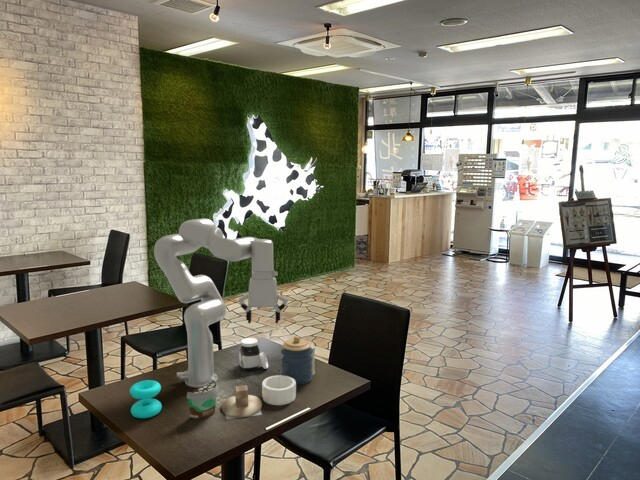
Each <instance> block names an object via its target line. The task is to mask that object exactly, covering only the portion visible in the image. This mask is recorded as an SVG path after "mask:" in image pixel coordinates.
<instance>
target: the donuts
mask: <svg viewBox="0 0 640 480" xmlns="http://www.w3.org/2000/svg"><path fill="white" fill-rule="evenodd" d="M161 390H162V386H161V383H159V382H158V381H157V380H152V379H145V380H141V381H138V382H136V383H134V384H133V385H131V387H130V389H129V394H130V396H131V397H132V398H134V399H136V400H138V401H136V402H134V403H133V405H132V406H131V408H130V413H131V415H132V416H133V417H134V418H136V419H149V418H153V417H154V416H156V415H158V414H159V413H160V412H161V411H162V408H163V405H162V403H161V401H159V399H156V398H154V397H156V396H157V395H158V394H159V393H160V392H161Z"/></svg>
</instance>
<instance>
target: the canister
mask: <svg viewBox="0 0 640 480" xmlns="http://www.w3.org/2000/svg"><path fill="white" fill-rule="evenodd" d="M311 343H312V342H309V341H308V340H306V339H305V338H300V336H298V335H295V336H294V337H293V338H289V339H287V340H286V341H284V342H283V343H282V347H281V348H280V351H279V352H280V354H281V356H280V374H279V375H283V376H289V377H291V378H293V379H294V380H295V382H296V386H300V385H304V384H307V383H309V382H310V381H312V379H313V376H314V375H313V371H312V360H313V357H312V353H313V349H312V348H311Z"/></svg>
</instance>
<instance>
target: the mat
mask: <svg viewBox="0 0 640 480" xmlns="http://www.w3.org/2000/svg"><path fill="white" fill-rule="evenodd" d="M254 396H255V397H257V395H254ZM225 400H226V398H224V399H222V401H223V402H224V401H225ZM223 402H222V403H223ZM262 415H263V414H262V409H261V410H260V411H259V412H257V413H256V414H254V415H251V416H247V417H255V416H262ZM224 416H225V419H226V420H233V419H239V418H242V417H232V416H228V415H226V414H225V415H224ZM247 417H246V418H247Z"/></svg>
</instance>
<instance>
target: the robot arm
mask: <svg viewBox="0 0 640 480" xmlns="http://www.w3.org/2000/svg"><path fill="white" fill-rule="evenodd" d="M223 236H224V233H223V231H222V229H221V228H219V227H218V226H216V225H215V223H214V222H213V221H212V220H211V219H209V218H204V217H202V218H195V219H189V220H185V221H184V222H182V223H181V224H180V226H179V229H178V233H174V234H168V235H164V236H162V237H160V238H159V239H158V240H156V242H155V244H154V247H153V255H154V259H155V261H156V263H157V265H158V266H159V268H160V269H161V271H162V272H163V273H164V274H165V276H166V278H167V281H168V282H169V284H170V286H171V288H172V290H173V292H174V293H175V296H176V297H177V300H179V302H181V303H182V304H189V303H192V302H196V301H199V300H200V301H199V302H196V303H193V304H191V305H189V306H188V307H187V308H186V309H185V311H184V314H183V319H184V324H185V328H186V329H185V330H186V332H187V333H186V335H187V358H188V359H187V360H188V361H187V362H188V363H187V364H188V366H187V367H188V368H187V370H185V371H181V372H176V378H178V379H179V380H184V384H185V385H186V386H187V387H190V388H195V389H198V388H200V387H201V386H204V385H207V384H209V383H211V382H212V380H214V381H216V383H218V382H217V381H218V380H219V377H218V374H216V373H215V372H214V371H215V370H214V367H215V365H214V338H213V337H214V336H213V333H212V331H211V330H210V328H209V326H210V325H212V324H215V323H217V322H220V321H221V320H223V319H224V318H225V317H226V314H227V306H226V304H225V302H224V301H225V300H223V298H222V296H221V294H220V292H219V290H218V289H217V287H216V284H215V283H214V281H213V280H212V278H211V277H210V276H207V275H205V274H198V275H194V276H193V275H192V273H191V272H190V270H189V268H188V266H187V265H186V264H185V263H184V262H183V261H182V260H180V259H178V258H177V256H183V255H187V254H193V253H195V252H197V250H199V249H201V248H202V247H203V248H206V249H207V250H209V252H210V253H211V254H212V256H213V257H216V258H219V259H221V260H224V261H228V262H238V261H241V260H246V259H250V258H251V277H250V279H249V283H248V293H247V294H245V295H244V296H242V297H240V298H239V299H237V301H238V303H239V305H240V307H241V308H242V309H243V311H245V312H246V313H245V314H246V315H245V316H246V321H247V322H248V323H247V324H251V322H252V310H251V309H252V308H273V309H274V310H275V324H278V323H279V321H281V311H282V310H283V309H285V307H286V305H287V304H288V300H289V299H288V298H287V297H286V296H285V297H284V296H282V295H281V294H279V293H278V291H279V290H278V282H277V278H276V277H275V276H278V275H279V274H278V273H279V272H278V271H275V269H274V267H275V266H274V242H273V240H271V239H268V238H267V239H266V238H257V237H253V236H245V237H239V238H235V239H231V238H230V239H229V238H226V237H223ZM246 300H248V305H247V304H246V303H245V301H246ZM279 300H280V301H282V303H281V304H280V305H279V303H278V302H279Z"/></svg>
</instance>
